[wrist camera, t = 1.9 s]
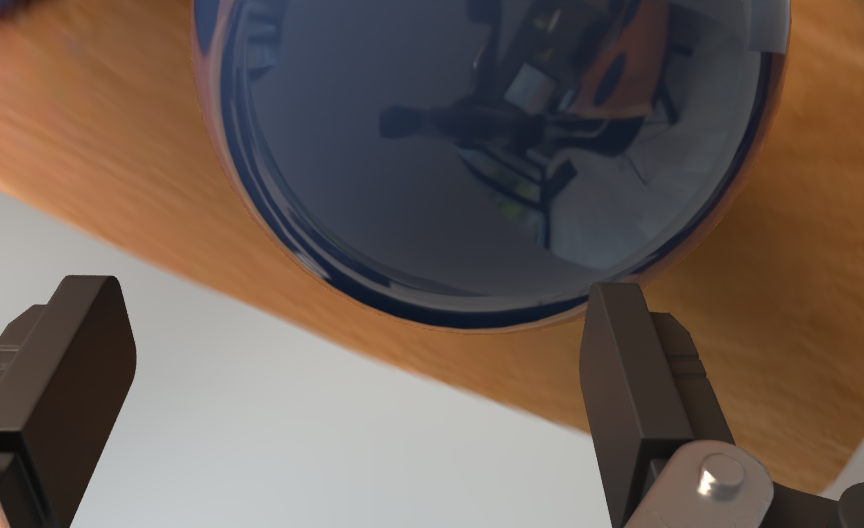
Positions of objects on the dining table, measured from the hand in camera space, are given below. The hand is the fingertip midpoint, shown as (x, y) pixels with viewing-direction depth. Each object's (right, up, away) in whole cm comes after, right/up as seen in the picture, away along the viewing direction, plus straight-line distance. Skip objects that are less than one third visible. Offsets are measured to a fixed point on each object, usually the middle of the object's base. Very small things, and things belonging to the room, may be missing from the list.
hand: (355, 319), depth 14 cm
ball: (+4, +10, +22) cm, 24 cm away
